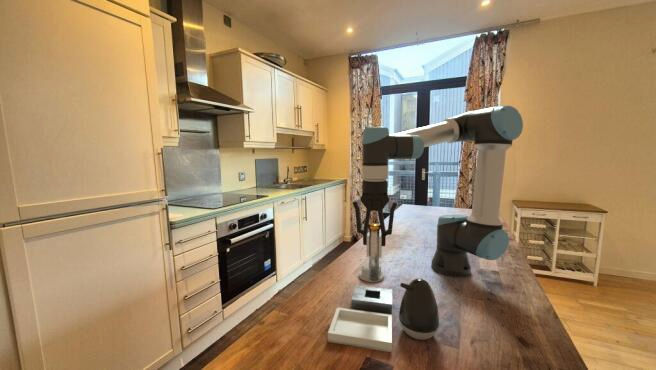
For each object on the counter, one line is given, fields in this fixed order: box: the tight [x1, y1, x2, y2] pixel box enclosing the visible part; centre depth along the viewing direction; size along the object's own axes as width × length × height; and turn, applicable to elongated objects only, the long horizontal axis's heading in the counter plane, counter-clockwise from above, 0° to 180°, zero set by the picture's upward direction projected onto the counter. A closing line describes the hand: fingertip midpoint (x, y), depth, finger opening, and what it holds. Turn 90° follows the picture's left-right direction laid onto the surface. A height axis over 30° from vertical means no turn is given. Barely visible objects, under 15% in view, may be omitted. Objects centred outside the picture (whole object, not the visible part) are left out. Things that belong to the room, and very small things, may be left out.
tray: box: [327, 306, 393, 353], centre depth 74 cm, size 16×12×2 cm
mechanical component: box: [358, 262, 385, 283], centre depth 108 cm, size 10×4×10 cm
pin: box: [368, 223, 381, 281], centre depth 84 cm, size 4×4×17 cm
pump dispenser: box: [398, 278, 440, 341], centre depth 73 cm, size 10×10×15 cm
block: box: [350, 285, 393, 316], centre depth 85 cm, size 12×9×4 cm
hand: (374, 255), depth 84 cm, fingers closed on pin, 3 cm apart
